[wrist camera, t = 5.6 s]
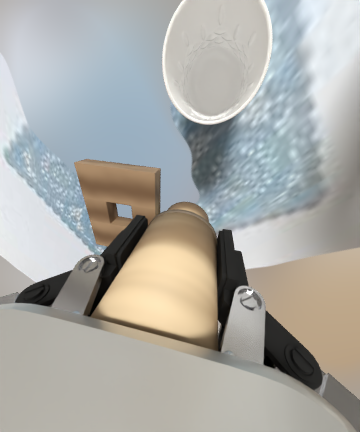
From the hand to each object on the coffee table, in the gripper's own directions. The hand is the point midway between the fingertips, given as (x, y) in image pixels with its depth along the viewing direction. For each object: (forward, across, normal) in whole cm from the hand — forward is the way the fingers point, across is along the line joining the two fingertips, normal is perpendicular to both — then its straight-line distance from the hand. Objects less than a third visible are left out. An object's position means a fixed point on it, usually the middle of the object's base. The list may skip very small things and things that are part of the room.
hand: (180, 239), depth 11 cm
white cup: (+18, 0, -11) cm, 21 cm away
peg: (+2, 0, 0) cm, 2 cm away
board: (+17, +14, +9) cm, 24 cm away
